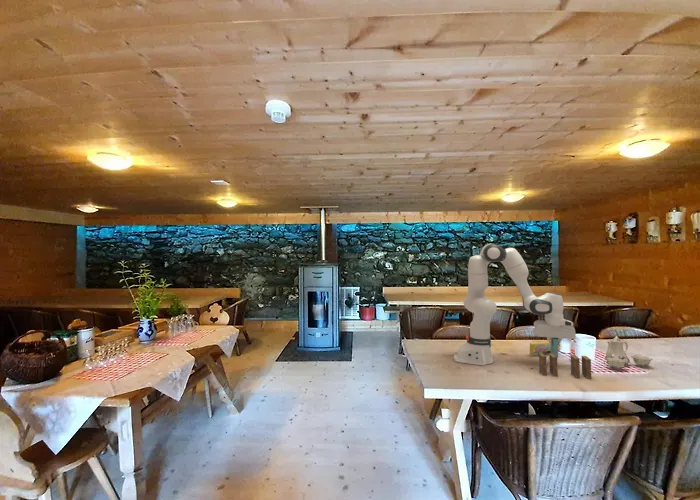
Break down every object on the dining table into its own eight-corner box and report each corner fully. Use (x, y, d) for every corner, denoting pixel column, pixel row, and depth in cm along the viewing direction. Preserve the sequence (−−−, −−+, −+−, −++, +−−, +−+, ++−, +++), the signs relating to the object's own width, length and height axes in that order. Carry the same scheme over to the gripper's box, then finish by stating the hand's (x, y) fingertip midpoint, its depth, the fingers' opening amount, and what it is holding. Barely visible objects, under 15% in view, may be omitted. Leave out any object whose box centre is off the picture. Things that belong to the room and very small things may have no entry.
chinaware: (619, 376, 170) (622, 346, 168) (588, 363, 186) (590, 335, 184) (656, 370, 177) (659, 341, 176) (623, 358, 193) (625, 331, 192)
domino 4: (586, 378, 163) (586, 359, 163) (582, 374, 169) (581, 355, 169) (591, 379, 162) (590, 359, 163) (586, 375, 168) (585, 355, 168)
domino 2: (553, 376, 167) (552, 357, 168) (549, 372, 173) (549, 353, 173) (557, 376, 167) (557, 357, 167) (554, 372, 173) (553, 353, 173)
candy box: (531, 357, 199) (531, 343, 199) (529, 356, 201) (529, 342, 201) (554, 355, 202) (553, 342, 202) (551, 354, 204) (550, 341, 204)
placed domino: (554, 357, 179) (553, 339, 180) (550, 354, 185) (550, 337, 185) (558, 357, 179) (558, 339, 179) (554, 354, 185) (554, 337, 185)
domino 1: (542, 375, 169) (542, 356, 169) (539, 371, 175) (538, 352, 175) (546, 375, 168) (546, 356, 168) (543, 371, 174) (543, 353, 174)
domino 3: (575, 377, 164) (574, 358, 165) (571, 373, 170) (570, 355, 170) (580, 378, 164) (579, 358, 164) (575, 374, 170) (574, 355, 170)
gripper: (535, 320, 182) (535, 345, 182) (576, 323, 177) (576, 348, 176) (532, 318, 189) (532, 342, 188) (572, 321, 183) (572, 345, 182)
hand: (554, 345), depth 182 cm, fingers closed on placed domino, 2 cm apart
